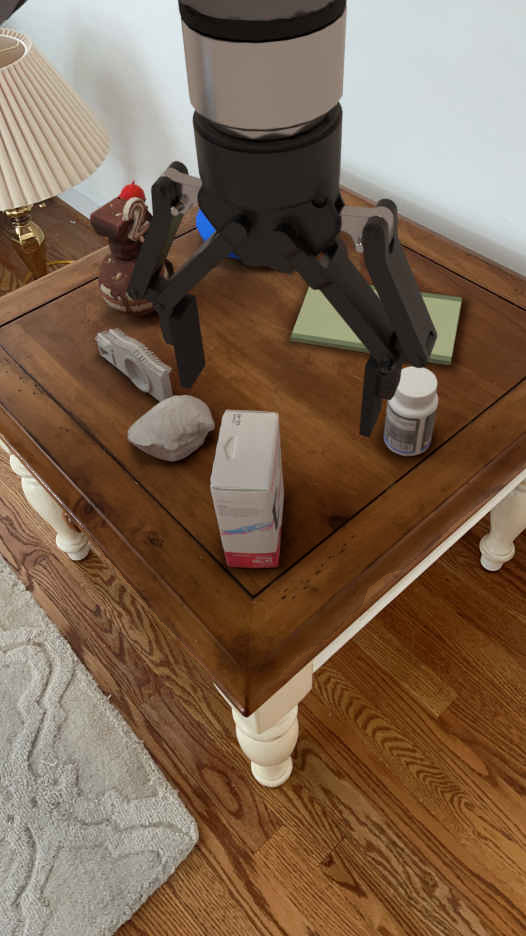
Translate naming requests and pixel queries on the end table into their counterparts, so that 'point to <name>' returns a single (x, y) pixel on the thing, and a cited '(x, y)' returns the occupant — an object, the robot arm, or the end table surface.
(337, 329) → the mat
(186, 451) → the grey stone
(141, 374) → the garden wall model
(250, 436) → the ink box
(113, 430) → the end table surface
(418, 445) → the pill bottle
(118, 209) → the grenade
